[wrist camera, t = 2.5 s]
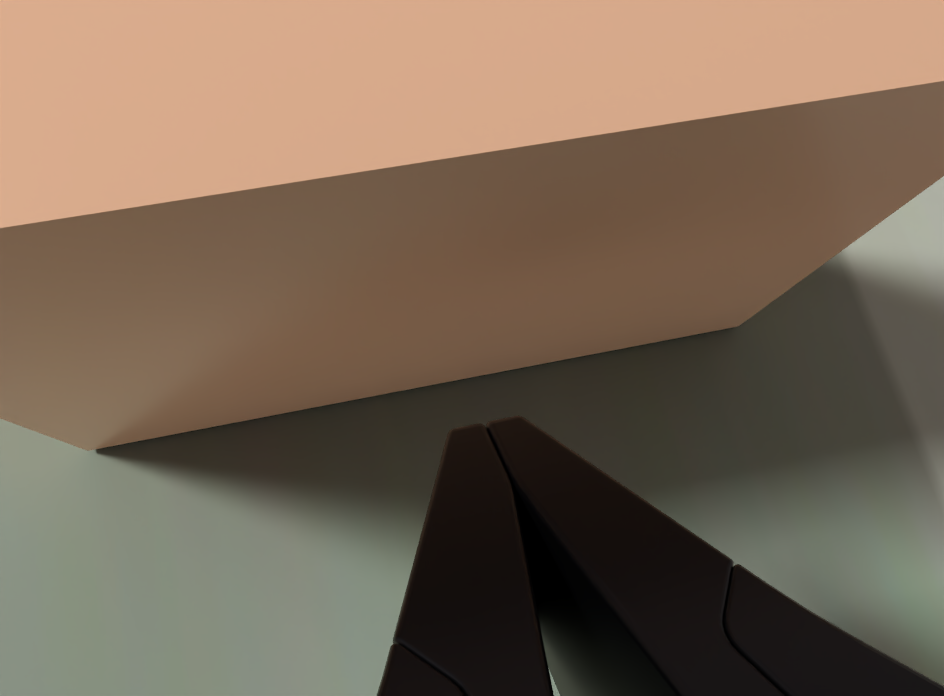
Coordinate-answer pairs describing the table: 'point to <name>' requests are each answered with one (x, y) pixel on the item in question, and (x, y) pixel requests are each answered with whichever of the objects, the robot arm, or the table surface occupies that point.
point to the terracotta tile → (422, 188)
